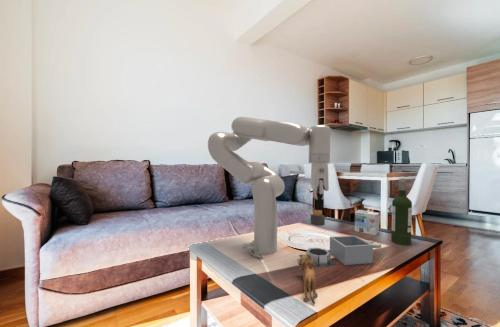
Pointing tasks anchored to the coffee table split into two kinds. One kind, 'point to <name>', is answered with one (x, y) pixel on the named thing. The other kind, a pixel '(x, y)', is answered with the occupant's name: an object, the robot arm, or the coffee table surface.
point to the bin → (351, 250)
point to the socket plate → (320, 257)
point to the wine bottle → (401, 216)
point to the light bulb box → (367, 222)
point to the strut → (317, 216)
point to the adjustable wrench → (375, 244)
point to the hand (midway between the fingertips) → (317, 208)
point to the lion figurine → (308, 275)
